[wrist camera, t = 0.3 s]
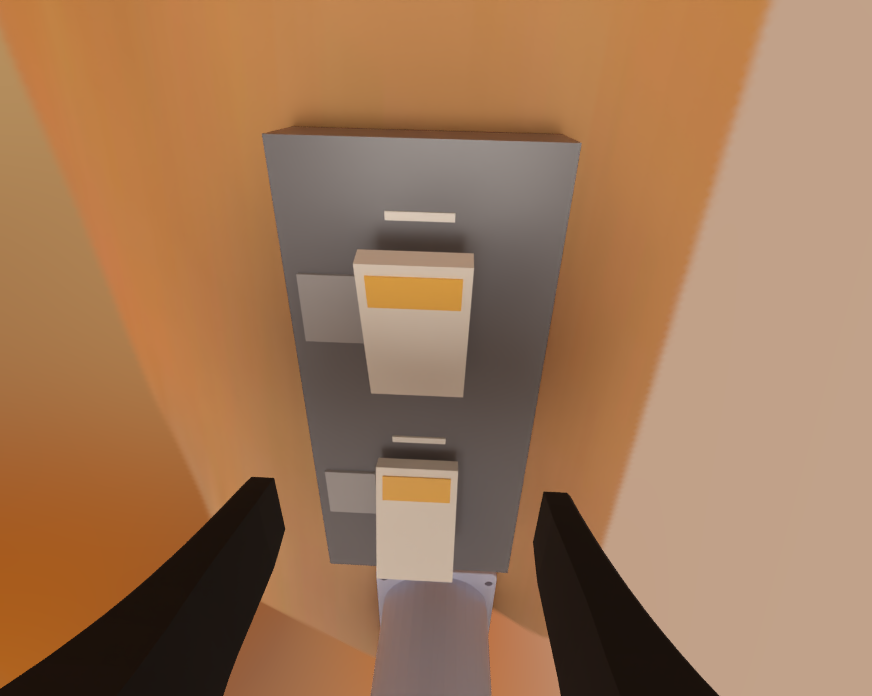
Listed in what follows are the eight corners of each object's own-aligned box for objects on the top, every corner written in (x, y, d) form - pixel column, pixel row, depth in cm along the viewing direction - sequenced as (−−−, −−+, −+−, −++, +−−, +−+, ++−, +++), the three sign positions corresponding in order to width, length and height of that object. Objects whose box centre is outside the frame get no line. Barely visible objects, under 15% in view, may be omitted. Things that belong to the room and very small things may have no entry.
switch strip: (502, 527, 28) (507, 575, 25) (342, 518, 28) (329, 566, 25) (561, 134, 16) (582, 143, 14) (292, 126, 17) (259, 134, 14)
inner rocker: (452, 569, 22) (452, 583, 21) (379, 565, 22) (376, 579, 21) (457, 461, 20) (458, 472, 19) (378, 457, 20) (375, 468, 19)
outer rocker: (463, 382, 18) (463, 398, 17) (373, 378, 18) (370, 394, 17) (473, 253, 14) (474, 269, 13) (357, 249, 14) (352, 265, 13)
